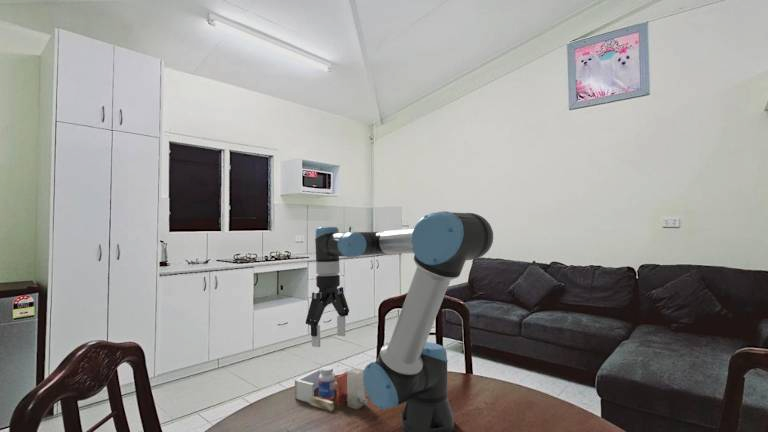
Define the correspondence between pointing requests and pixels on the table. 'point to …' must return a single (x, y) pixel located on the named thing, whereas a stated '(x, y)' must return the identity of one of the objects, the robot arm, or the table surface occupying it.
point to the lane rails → (322, 402)
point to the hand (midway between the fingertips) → (329, 341)
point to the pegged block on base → (351, 388)
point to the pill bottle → (327, 383)
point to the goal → (307, 385)
